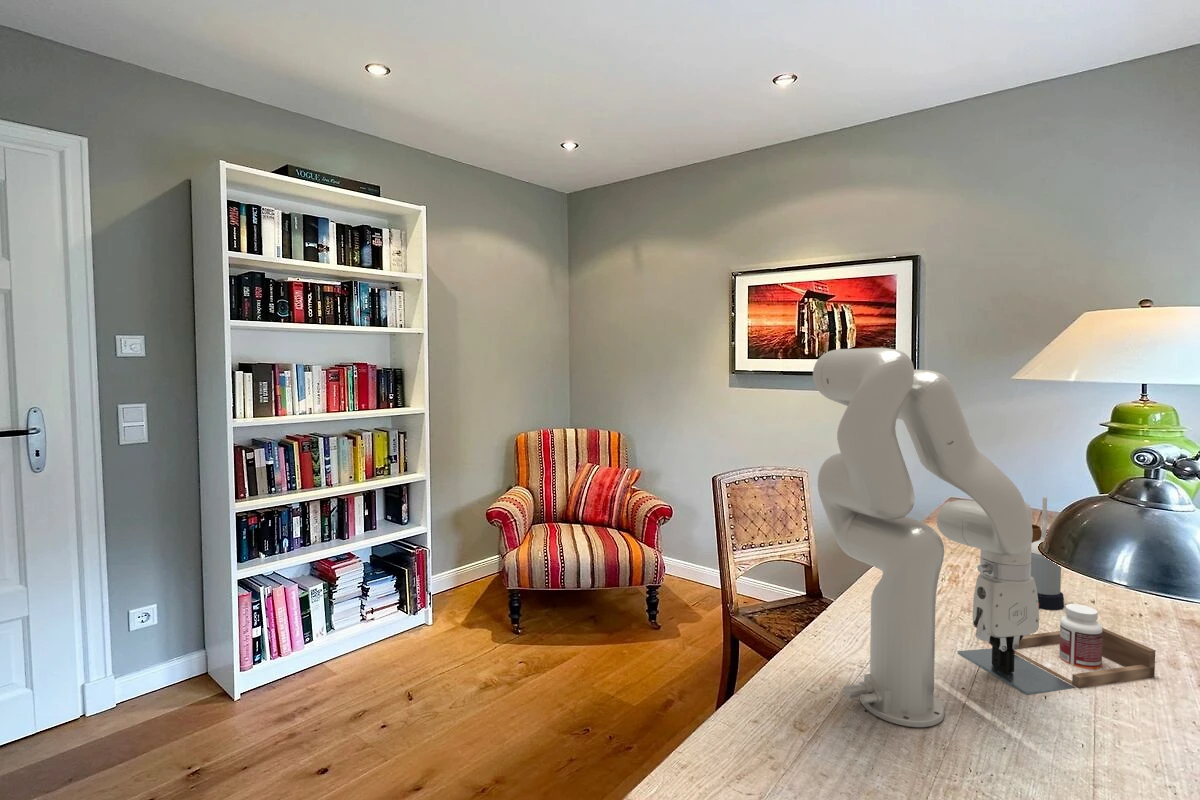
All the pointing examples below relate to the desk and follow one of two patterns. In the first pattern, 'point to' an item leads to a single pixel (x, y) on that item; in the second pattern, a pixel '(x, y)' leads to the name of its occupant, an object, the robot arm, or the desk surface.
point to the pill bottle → (1081, 637)
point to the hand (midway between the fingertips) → (1002, 668)
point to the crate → (1114, 648)
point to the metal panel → (1018, 673)
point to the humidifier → (1046, 573)
